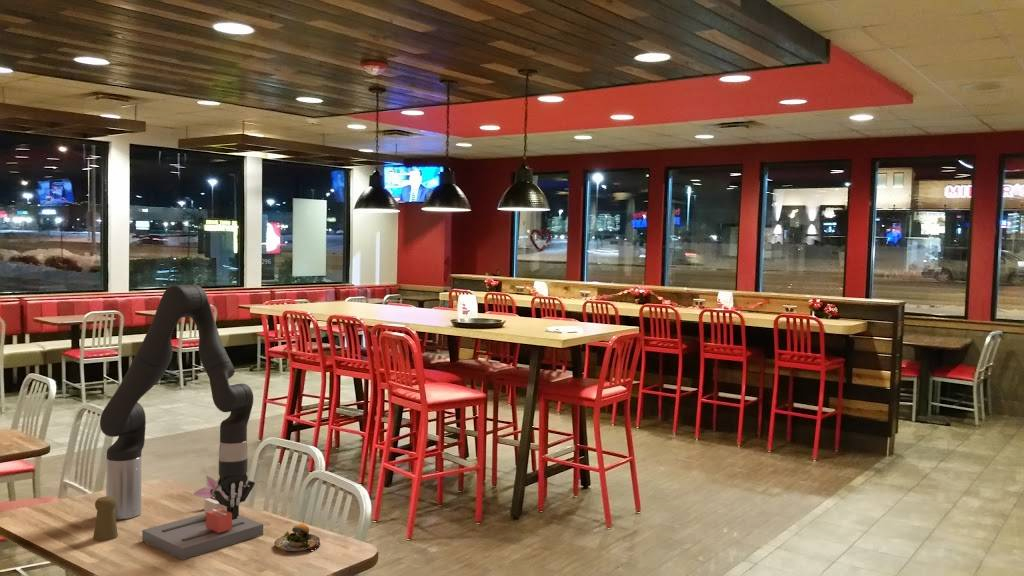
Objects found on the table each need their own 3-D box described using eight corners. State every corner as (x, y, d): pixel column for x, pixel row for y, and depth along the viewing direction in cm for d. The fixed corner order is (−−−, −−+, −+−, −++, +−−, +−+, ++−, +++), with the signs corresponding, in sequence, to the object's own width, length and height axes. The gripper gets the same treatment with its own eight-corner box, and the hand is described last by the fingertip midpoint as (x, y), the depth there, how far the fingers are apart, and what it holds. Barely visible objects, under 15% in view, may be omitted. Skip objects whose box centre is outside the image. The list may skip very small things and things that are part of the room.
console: (142, 541, 213) (142, 529, 213) (222, 518, 232) (222, 507, 232) (182, 560, 201) (182, 547, 201) (263, 534, 220) (263, 523, 220)
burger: (266, 546, 212) (266, 519, 212) (304, 536, 221) (304, 509, 220) (290, 559, 204) (290, 531, 204) (329, 547, 213) (329, 520, 212)
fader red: (206, 527, 215) (206, 511, 215) (219, 524, 218) (219, 507, 218) (218, 533, 211) (218, 516, 211) (231, 529, 214) (232, 512, 214)
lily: (187, 512, 240) (191, 489, 236) (206, 487, 251) (210, 464, 246) (224, 525, 240) (228, 502, 236) (242, 499, 251) (246, 477, 246)
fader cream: (204, 514, 225) (204, 498, 225) (217, 511, 228) (217, 495, 228) (216, 519, 222) (216, 503, 221) (229, 515, 225) (229, 499, 225)
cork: (107, 542, 212) (107, 501, 211) (87, 540, 213) (88, 499, 212) (122, 534, 218) (123, 495, 217) (103, 532, 219) (103, 493, 218)
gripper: (246, 450, 225) (245, 510, 226) (203, 459, 214) (203, 522, 215) (262, 454, 220) (261, 515, 221) (219, 464, 210) (218, 528, 210)
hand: (232, 518), depth 218 cm, fingers closed
